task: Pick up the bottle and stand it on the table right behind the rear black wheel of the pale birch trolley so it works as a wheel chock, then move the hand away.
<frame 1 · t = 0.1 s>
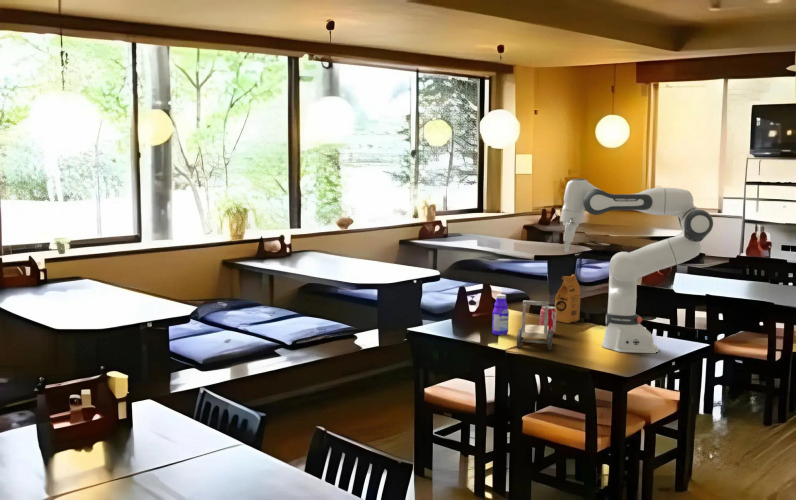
hand: (566, 250, 326), 39 cm above the table, tool pointing down, fingers open, 8 cm apart
soda can: (547, 334, 347), on the table
coffee package: (566, 321, 378), on the table
bottle: (499, 334, 344), on the table
trolley: (534, 345, 324), on the table
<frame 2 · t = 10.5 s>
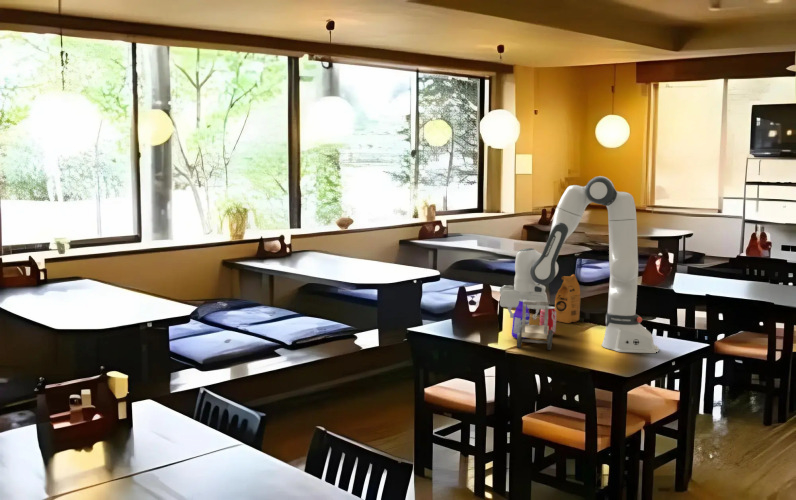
hand: (523, 318, 336), 9 cm above the table, tool pointing down, fingers open, 8 cm apart
bottle: (519, 337, 338), on the table, touching gripper
everything else where it was.
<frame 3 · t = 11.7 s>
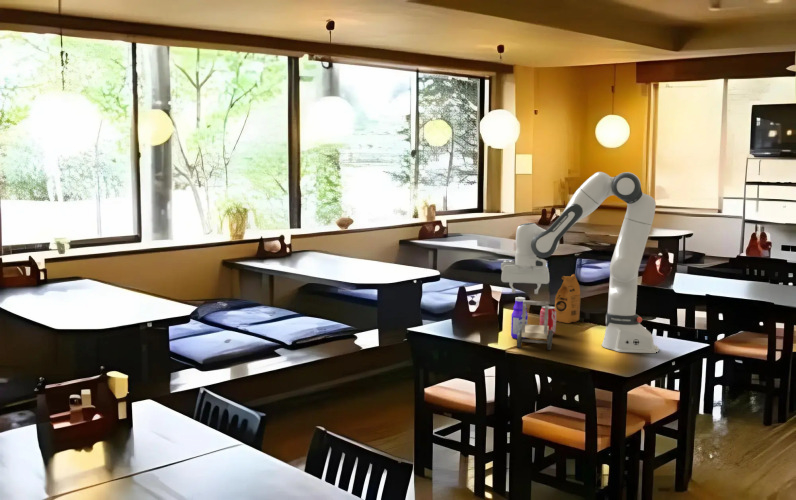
hand: (524, 293, 335), 19 cm above the table, tool pointing down, fingers open, 8 cm apart
bottle: (518, 338, 338), on the table
everything else where it was.
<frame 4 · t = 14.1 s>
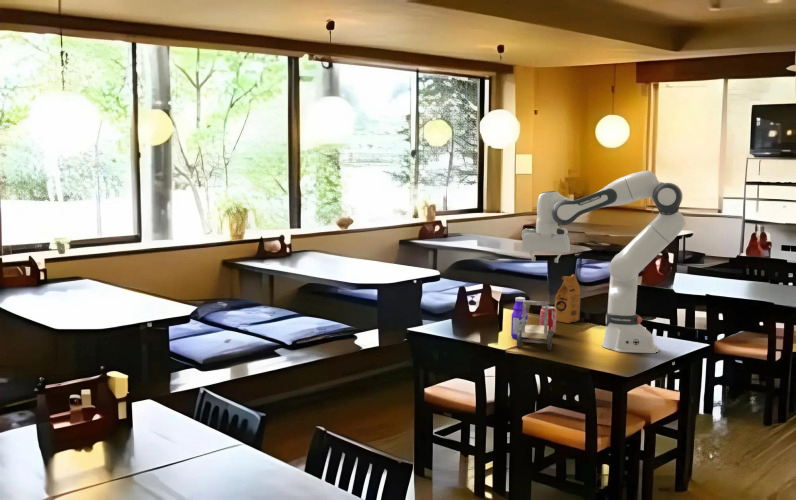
hand: (544, 262, 333), 33 cm above the table, tool pointing down, fingers open, 8 cm apart
nothing on the table moved.
at the end: bottle 1.5 cm from the target spot on the table beside the trolley, on the table; bottle tilted 0°; the gripper is holding nothing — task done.
